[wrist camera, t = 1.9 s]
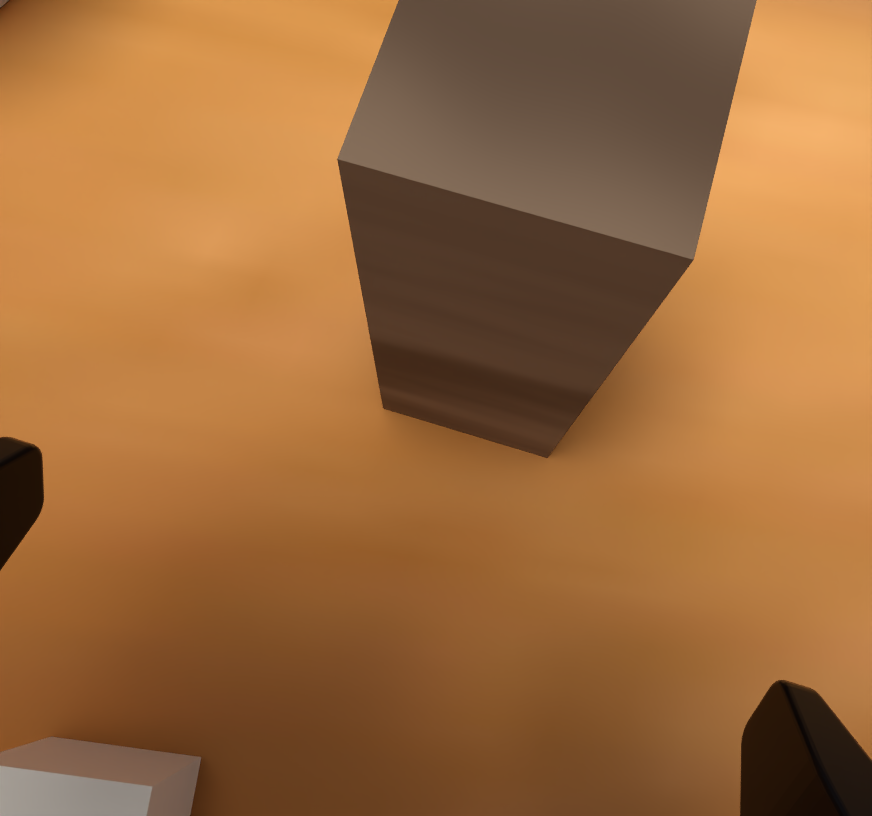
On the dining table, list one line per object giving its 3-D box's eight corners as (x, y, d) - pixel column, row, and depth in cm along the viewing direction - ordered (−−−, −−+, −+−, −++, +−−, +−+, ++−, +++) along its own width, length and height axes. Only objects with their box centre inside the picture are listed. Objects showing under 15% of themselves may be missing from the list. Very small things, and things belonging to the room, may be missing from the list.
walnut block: (546, 457, 23) (692, 259, 11) (383, 408, 23) (337, 159, 11) (589, 304, 24) (763, -34, 12) (433, 259, 25) (443, -116, 12)
